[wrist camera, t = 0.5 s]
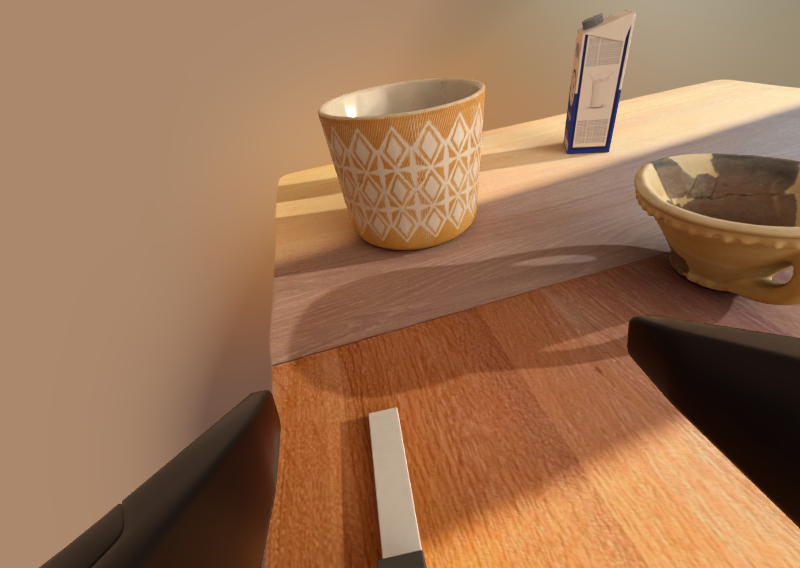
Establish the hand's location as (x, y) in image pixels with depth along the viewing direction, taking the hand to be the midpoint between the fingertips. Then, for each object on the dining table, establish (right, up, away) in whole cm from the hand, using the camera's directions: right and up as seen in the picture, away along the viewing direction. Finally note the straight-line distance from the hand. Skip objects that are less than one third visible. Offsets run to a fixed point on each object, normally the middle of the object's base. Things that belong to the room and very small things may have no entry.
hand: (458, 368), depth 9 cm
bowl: (+29, +3, +28) cm, 40 cm away
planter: (+1, +11, +44) cm, 45 cm away
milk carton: (+32, +27, +60) cm, 73 cm away
